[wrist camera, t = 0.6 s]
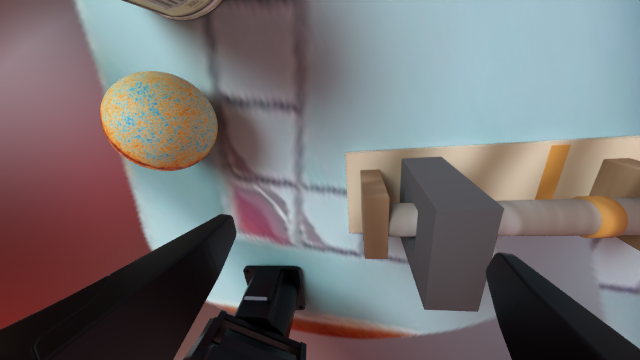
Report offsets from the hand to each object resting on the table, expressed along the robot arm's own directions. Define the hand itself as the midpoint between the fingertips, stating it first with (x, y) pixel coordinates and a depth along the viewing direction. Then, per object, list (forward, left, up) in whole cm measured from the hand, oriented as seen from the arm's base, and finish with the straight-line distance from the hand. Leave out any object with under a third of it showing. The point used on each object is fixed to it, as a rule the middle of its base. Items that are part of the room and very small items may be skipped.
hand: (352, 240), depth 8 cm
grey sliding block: (-5, -6, -12) cm, 14 cm away
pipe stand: (-5, -11, -13) cm, 17 cm away
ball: (+3, +13, -13) cm, 19 cm away
